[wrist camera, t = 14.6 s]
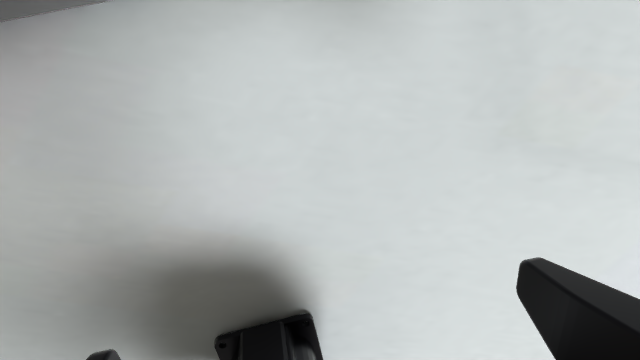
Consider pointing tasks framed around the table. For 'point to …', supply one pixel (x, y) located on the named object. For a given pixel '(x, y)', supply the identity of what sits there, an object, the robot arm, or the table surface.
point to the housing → (38, 7)
